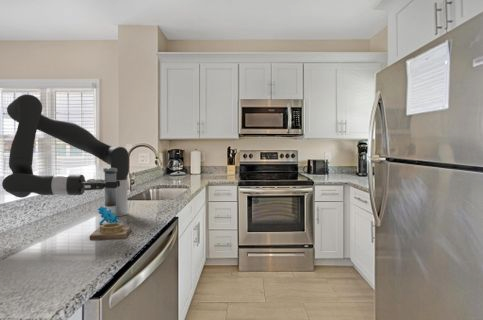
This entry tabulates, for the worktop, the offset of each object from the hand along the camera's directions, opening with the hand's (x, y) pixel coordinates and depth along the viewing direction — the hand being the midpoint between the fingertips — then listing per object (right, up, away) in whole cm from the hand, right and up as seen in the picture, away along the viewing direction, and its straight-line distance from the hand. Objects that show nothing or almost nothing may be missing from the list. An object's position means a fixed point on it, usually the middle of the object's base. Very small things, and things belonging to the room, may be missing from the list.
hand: (118, 184), depth 117 cm
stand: (-3, -19, 0) cm, 19 cm away
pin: (-3, -8, 0) cm, 8 cm away
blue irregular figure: (-11, -19, +17) cm, 28 cm away
